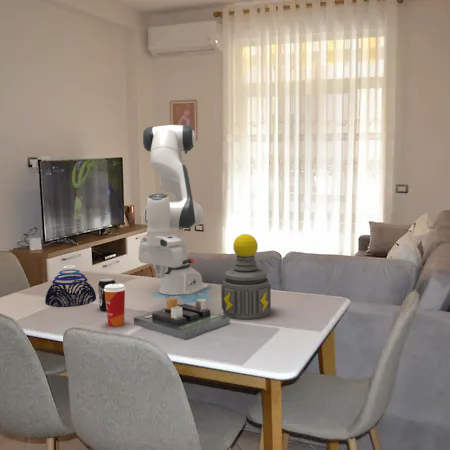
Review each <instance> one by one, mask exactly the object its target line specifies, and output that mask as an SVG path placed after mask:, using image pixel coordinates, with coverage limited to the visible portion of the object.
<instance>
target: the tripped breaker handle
mask: <svg viewBox="0 0 450 450" xmlns="http://www.w3.org/2000/svg"><path fill="white" fill-rule="evenodd" d="M178 301H179V300H178V298H177V297H170V298H166V308H167V309H170V310H171V308H172V307H175V306H178V304H179V302H178Z"/></svg>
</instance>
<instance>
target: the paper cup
mask: <svg viewBox="0 0 450 450" xmlns="http://www.w3.org/2000/svg"><path fill="white" fill-rule="evenodd" d="M104 291H105V301H106V310H107V311H106V319H107V325H108V326H109V327H113V328H114V327H120V326H123V325H124V324H125V298H126V287H125V285H124V284H123V283H116V284H109V285H106V286H105V288H104Z"/></svg>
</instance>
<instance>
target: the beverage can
mask: <svg viewBox="0 0 450 450" xmlns="http://www.w3.org/2000/svg"><path fill="white" fill-rule="evenodd" d="M109 284H117V282H116V281H115V278H114V277H101V278H100V279H99V282H98V303H99V310H101V311H103V312H107V310H106V301H105V291H104V288H105V286H106V285H109Z"/></svg>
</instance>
